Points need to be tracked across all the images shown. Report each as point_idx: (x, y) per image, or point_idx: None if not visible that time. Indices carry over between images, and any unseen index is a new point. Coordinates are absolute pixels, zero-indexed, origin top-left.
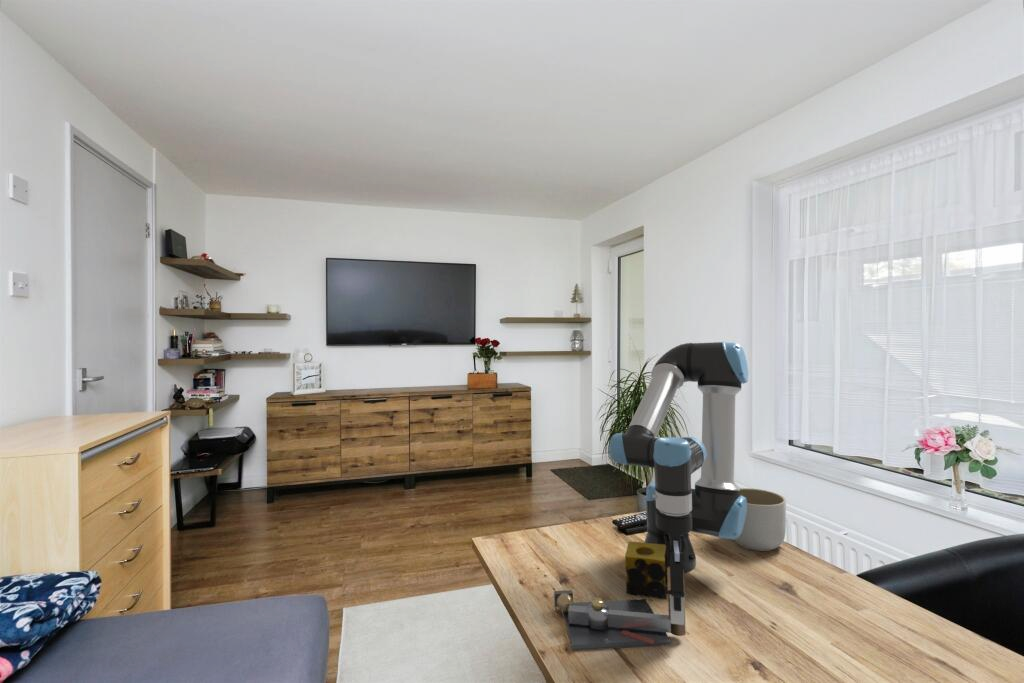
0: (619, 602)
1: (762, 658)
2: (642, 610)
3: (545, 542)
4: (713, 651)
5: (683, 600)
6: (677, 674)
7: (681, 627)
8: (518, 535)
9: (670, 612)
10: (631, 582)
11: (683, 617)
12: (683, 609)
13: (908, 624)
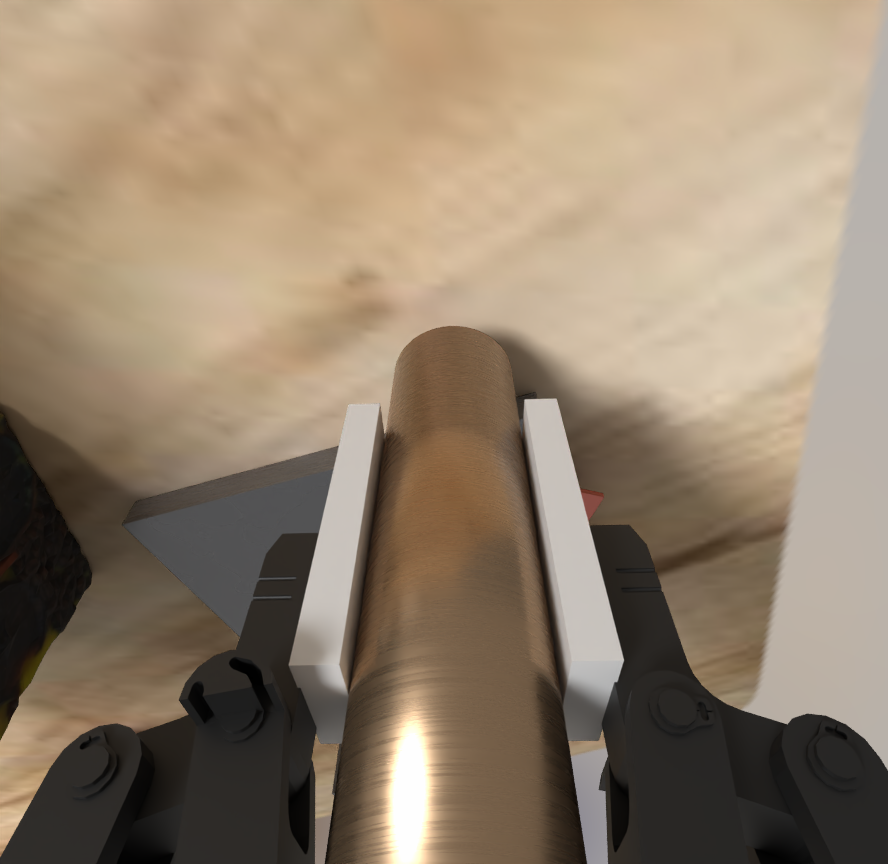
0: (242, 617)
1: None
2: (267, 536)
3: None
4: (566, 92)
5: (602, 587)
6: (817, 365)
7: (511, 390)
8: None
9: None
10: (44, 622)
11: (567, 447)
12: (581, 503)
13: None
